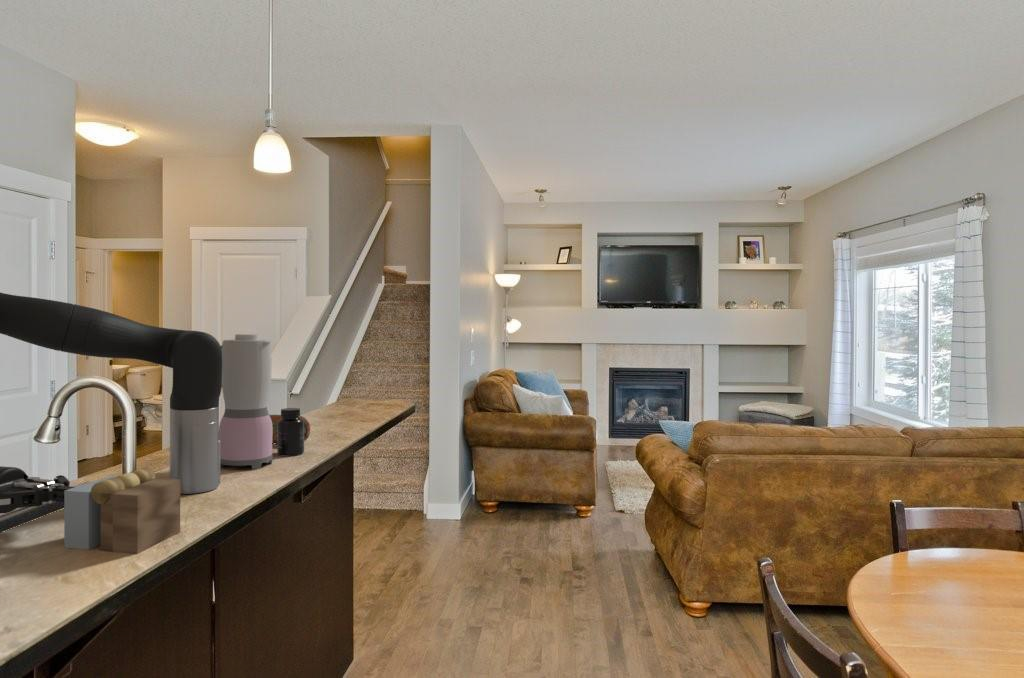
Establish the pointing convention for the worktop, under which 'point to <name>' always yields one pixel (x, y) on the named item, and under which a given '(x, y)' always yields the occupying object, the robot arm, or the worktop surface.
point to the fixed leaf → (137, 511)
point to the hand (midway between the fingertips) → (79, 495)
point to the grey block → (86, 513)
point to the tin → (277, 417)
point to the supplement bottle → (290, 432)
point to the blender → (246, 402)
